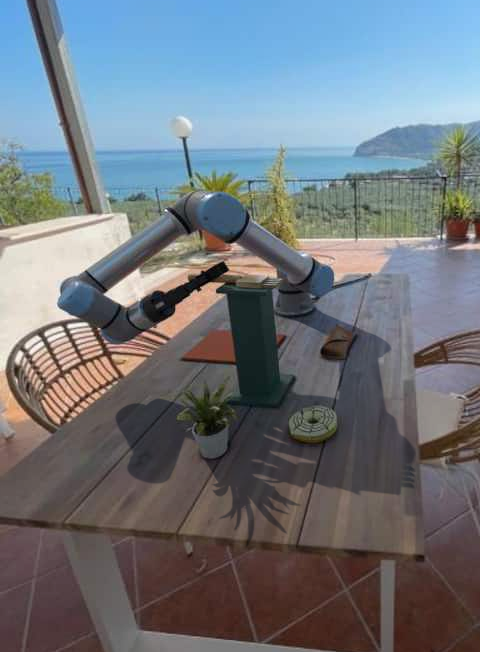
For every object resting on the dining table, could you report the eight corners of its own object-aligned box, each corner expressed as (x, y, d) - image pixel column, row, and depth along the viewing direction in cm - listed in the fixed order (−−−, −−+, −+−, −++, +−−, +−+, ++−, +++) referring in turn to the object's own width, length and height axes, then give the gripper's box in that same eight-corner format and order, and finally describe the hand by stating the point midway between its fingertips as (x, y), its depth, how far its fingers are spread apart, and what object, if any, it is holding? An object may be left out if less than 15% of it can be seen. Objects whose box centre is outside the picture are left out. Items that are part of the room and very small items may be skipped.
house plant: (170, 488, 72) (153, 416, 67) (171, 441, 84) (157, 376, 78) (248, 465, 78) (239, 396, 72) (239, 424, 90) (230, 362, 84)
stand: (246, 373, 110) (234, 274, 100) (294, 377, 108) (286, 276, 98) (223, 402, 97) (206, 292, 87) (277, 407, 96) (266, 295, 85)
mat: (213, 332, 136) (213, 329, 136) (285, 336, 133) (284, 334, 133) (181, 359, 118) (181, 357, 118) (263, 365, 115) (263, 363, 114)
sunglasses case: (347, 358, 117) (335, 340, 116) (328, 366, 120) (316, 349, 118) (358, 333, 134) (348, 317, 132) (341, 341, 136) (332, 325, 135)
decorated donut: (293, 415, 93) (292, 402, 91) (338, 415, 92) (338, 402, 91) (285, 446, 83) (284, 431, 81) (336, 446, 83) (335, 431, 81)
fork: (196, 277, 97) (195, 270, 96) (283, 281, 94) (283, 273, 93) (184, 284, 92) (182, 276, 91) (275, 288, 89) (275, 280, 88)
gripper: (179, 310, 107) (245, 271, 100) (142, 334, 92) (215, 291, 86) (162, 287, 105) (228, 246, 98) (122, 308, 91) (195, 262, 84)
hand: (222, 267), depth 92 cm, fingers open, 3 cm apart
